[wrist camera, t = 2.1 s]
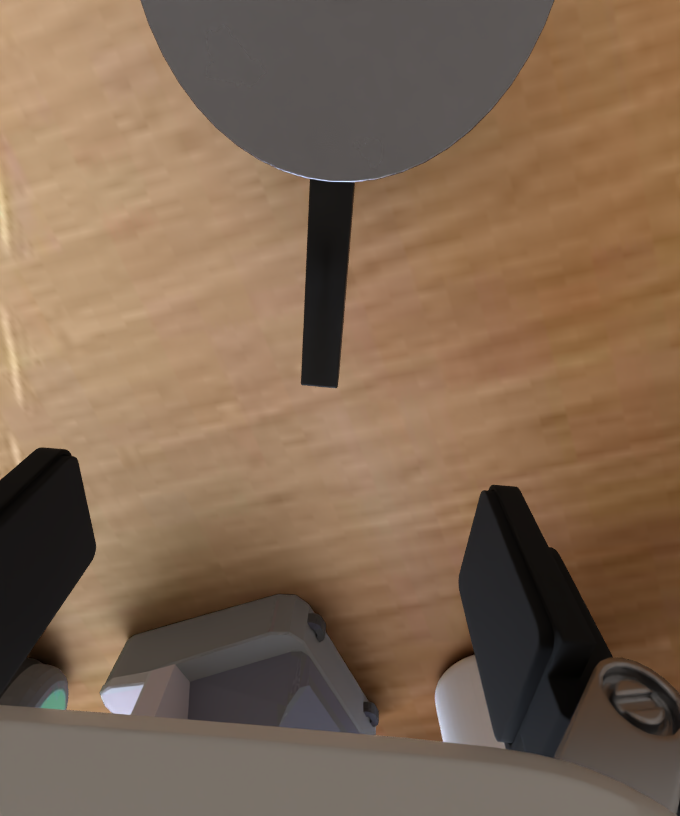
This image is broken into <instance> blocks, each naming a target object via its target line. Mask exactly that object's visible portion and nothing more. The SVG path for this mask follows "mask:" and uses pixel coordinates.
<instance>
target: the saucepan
mask: <svg viewBox="0 0 680 816" xmlns="http://www.w3.org/2000/svg"><path fill="white" fill-rule="evenodd" d="M553 2H554V0H141V3H142V6H143V9H144V12H145V15H146V18H147V21H148V23H149V26H150V28H151V30H152V33H153V35H154V37H155V39H156V41H157V44H158V46H159V48H160V50H161V52H162V54H163V56H164V58H165V60H166V62H167V63H168V65H169V67H170V68H171V70H172V72H173V73H174V75H175V77H176V79H177V80H178V82H179V84H180V85H181V86H182V88H183V89H184V90H185V92H186V93H187V94H188V96H189V97H190V98H191V100H192V101H193V102H194V104H195V105H196V107H197V108H198V109H199V110H200V111H201V112H202V113H203V114H204V115H205V116H206V117H207V119H208V120H209V121H210V122H211V123H212V124H213V125H214V126H215V127H216V128H217V129H218V130H219V131H220V132H222V133H223V134H224V135H225V136H226V137H228V138H229V139H230V140H231V141H232V142H233V143H235V144H236V145H237V146H238V147H240V148H241V149H243V150H245V151H246V152H248V153H249V154H251V155H252V156H254V157H255V158H257V159H258V160H260V161H262V162H264V163H267V164H269V165H271V166H273V167H275V168H277V169H279V170H281V171H284V172H287V173H290V174H294V175H297V176H300V177H303V178H307V179H310V192H309V214H308V237H307V260H306V282H305V305H304V328H303V350H302V373H301V385H307V386H318V387H329V388H337V387H338V380H339V371H340V359H341V347H342V335H343V323H344V311H345V299H346V287H347V275H348V263H349V251H350V239H351V227H352V215H353V203H354V191H355V182H361V181H369V180H376V179H381V178H384V177H388V176H391V175H395V174H398V173H402V172H404V171H406V170H409V169H411V168H413V167H416V166H418V165H420V164H423V163H425V162H427V161H428V160H430V159H432V158H433V157H435V156H437V155H438V154H440V153H442V152H443V151H445V150H447V149H448V148H449V147H451V146H452V145H453V144H455V143H456V142H457V141H458V140H460V139H461V138H462V137H463V136H465V135H466V134H467V133H469V132H470V131H471V130H472V129H473V128H474V127H475V126H476V125H477V124H478V123H479V122H480V121H481V120H482V119H483V118H484V117H485V116H486V115H487V114H488V113H489V112H490V111H491V110H492V109H493V107H494V106H495V105H496V104H497V102H498V101H499V100H500V99H501V97H502V96H503V95H504V94H505V92H506V91H507V90H508V88H509V87H510V86H511V85H512V83H513V81H514V80H515V78H516V77H517V75H518V74H519V72H520V70H521V69H522V67H523V66H524V64H525V62H526V61H527V59H528V58H529V56H530V54H531V52H532V50H533V48H534V46H535V44H536V42H537V40H538V38H539V36H540V34H541V32H542V30H543V28H544V26H545V23H546V21H547V18H548V15H549V13H550V10H551V8H552V5H553Z"/></svg>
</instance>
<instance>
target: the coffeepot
mask: <svg viewBox="0 0 680 816" xmlns="http://www.w3.org/2000/svg"><path fill="white" fill-rule="evenodd" d="M435 704H436V709H437V714H438V719H439V724H440V728H441V733H442V738H443V742H450V743H459V744H469V745H478V746H488V747H495V748H501V749H506V748H505V744H504V742H498V741H497V740H496V738H495V736H494V733H493V729H492V725H491V720H490V716H489V712H488V708H487V704H486V700H485V695H484V691H483V687H482V683H481V679H480V675H479V670H478V666H477V662H476V658H475V655H471V656H469V657H466V658H464V659H462V660H460V661H458V662H457V663H455V664H454V665H452V666H451V667H450V668H449V669H447V670H446V672H445V673H444V674H443V675H442V677H441V678H440V680H439V681H438V684H437V687H436V691H435Z"/></svg>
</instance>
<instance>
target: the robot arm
mask: <svg viewBox="0 0 680 816" xmlns="http://www.w3.org/2000/svg"><path fill="white" fill-rule="evenodd" d="M95 551H96V542H95V538H94V533H93V528H92V524H91V519H90V514H89V510H88V505H87V500H86V496H85V491H84V486H83V482H82V477H81V472H80V468H79V463H78V460H77V458H76V457H73V456H71V453H70V452H69V451H68V450H65V449H54V448H38V449H36V450H35V451H34V452H32V453H31V454H30V455H29V456H28V457H27V458H25V459H24V460H23V461H22V462H21V463H20V464H19V465H17V466H16V467H15V468H14V469H13V470H12V471H11V472H9V473H8V474H7V475H6V476H5V477H4V478H2V479H1V480H0V695H1V693H2V692H3V691H4V689H5V688H6V686H7V685H8V684H9V682H10V681H11V679H12V678H13V676H14V675H15V673H16V672H17V670H18V669H19V667H20V666H21V664H22V663H23V661H24V660H25V659H26V657H27V656H28V654H29V653H30V651H31V650H32V648H33V647H34V645H35V644H36V642H37V641H38V639H39V638H40V636H41V635H42V634H43V632H44V631H45V629H46V628H47V626H48V625H49V623H50V622H51V620H52V619H53V617H54V616H55V614H56V613H57V611H58V610H59V609H60V607H61V606H62V604H63V603H64V601H65V600H66V598H67V597H68V595H69V594H70V592H71V591H72V589H73V588H74V586H75V585H76V584H77V582H78V581H79V579H80V578H81V576H82V575H83V573H84V572H85V570H86V569H87V567H88V566H89V564H90V563H91V562H92V560H93V558H94V555H95ZM459 591H460V595H461V599H462V604H463V608H464V612H465V616H466V620H467V625H468V629H469V633H470V637H471V641H472V645H473V650H474V654H475V658H476V662H477V666H478V670H479V675H480V679H481V683H482V687H483V691H484V695H485V700H486V704H487V708H488V712H489V716H490V720H491V725H492V729H493V733H494V736H495V738H496V740H497V741H498V742H504V744H505V748H506V749H501V748H495V747H488V746H478V745H469V744H459V743H450V742H440V741H431V740H421V739H412V738H401V737H390V736H378V735H367V734H355V733H344V732H332V731H320V730H309V729H297V728H286V727H274V726H262V725H250V724H238V723H225V722H213V721H201V720H189V719H176V718H164V717H151V716H139V715H126V714H114V713H100V712H87V711H74V710H61V709H47V708H34V707H21V706H7V705H0V816H680V694H679V693H678V691H677V690H676V689H675V688H674V687H673V686H672V685H671V684H670V683H669V682H668V681H667V680H666V679H665V678H663V677H662V676H660V675H659V674H658V673H656V672H655V671H653V670H652V669H651V668H649V667H647V666H645V665H642V664H640V663H638V662H636V661H633V660H629V659H626V658H613V656H612V654H611V652H610V651H609V649H608V647H607V645H606V643H605V641H604V639H603V637H602V635H601V633H600V631H599V629H598V628H597V626H596V624H595V622H594V620H593V618H592V616H591V614H590V612H589V610H588V608H587V606H586V605H585V603H584V601H583V599H582V597H581V595H580V593H579V591H578V589H577V587H576V585H575V583H574V582H573V580H572V578H571V576H570V574H569V572H568V570H567V568H566V566H565V564H564V562H563V560H562V559H561V557H560V555H559V554H558V552H557V551H556V550H555V549H553V548H551V547H548V545H547V543H546V541H545V539H544V537H543V535H542V533H541V531H540V529H539V527H538V525H537V523H536V521H535V519H534V517H533V515H532V513H531V511H530V509H529V507H528V505H527V503H526V501H525V499H524V497H523V495H522V493H521V491H520V490H519V488H518V487H513V486H501V485H491V486H490V488H489V490H488V491H485V490H483V491H482V492H481V494H480V497H479V501H478V505H477V509H476V513H475V517H474V520H473V524H472V528H471V532H470V536H469V539H468V543H467V547H466V551H465V555H464V558H463V562H462V566H461V570H460V574H459Z"/></svg>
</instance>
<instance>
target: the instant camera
mask: <svg viewBox="0 0 680 816" xmlns="http://www.w3.org/2000/svg"><path fill="white" fill-rule="evenodd" d="M325 630H326V624H325V622H324V620H323V619H322V617H321V616H320V615H318V614H315V613H314V612H313V610H312V609H311V607H310V605H309V604H308V603H306V602H305V601H303V600H302V599H301V598H299V597H298V596H297V595H285V594H277V595H274V596H270V597H266V598H263V599H259V600H256V601H252V602H249V603H245V604H242V605H238V606H235V607H231V608H228V609H224V610H221V611H217V612H214V613H210V614H207V615H203V616H200V617H196V618H193V619H189V620H186V621H182V622H179V623H175V624H172V625H168V626H165V627H161V628H158V629H154V630H151V631H147V632H144V633H140V634H137V635H133V636H132V637H131V638H130V639H129V640H127V642H126V644H125V646H124V648H123V650H122V651H121V653H120V655H119V657H118V659H117V661H116V663H115V665H114V667H113V669H112V671H111V673H110V675H109V677H108V679H107V681H106V683H105V685H103V687H102V689H101V691H100V695H101V698H102V700H103V703H104V705H105V706H106V707H107V708H108V709H109V710H110V711H111V712H112V713H114V714H126V715H139V716H151V717H164V718H176V719H189V720H201V721H213V722H225V723H238V724H250V725H262V726H274V727H286V728H297V729H309V730H320V731H332V732H344V733H355V734H367V735H376V726H377V725H378V721H379V711H378V709H377V707H376V706H375V704H374V703H372V702H369V701H368V700H367V698H366V696H365V695H364V693H363V692H362V690H361V688H360V687H359V685H358V683H357V682H356V680H355V679H354V677H353V675H352V674H351V672H350V670H349V669H348V667H347V666H346V664H345V662H344V661H343V659H342V657H341V656H340V654H339V653H338V651H337V649H336V648H335V646H334V644H333V643H332V641H331V640H330V638H329V636H328V635H327V633H326V631H325Z"/></svg>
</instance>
